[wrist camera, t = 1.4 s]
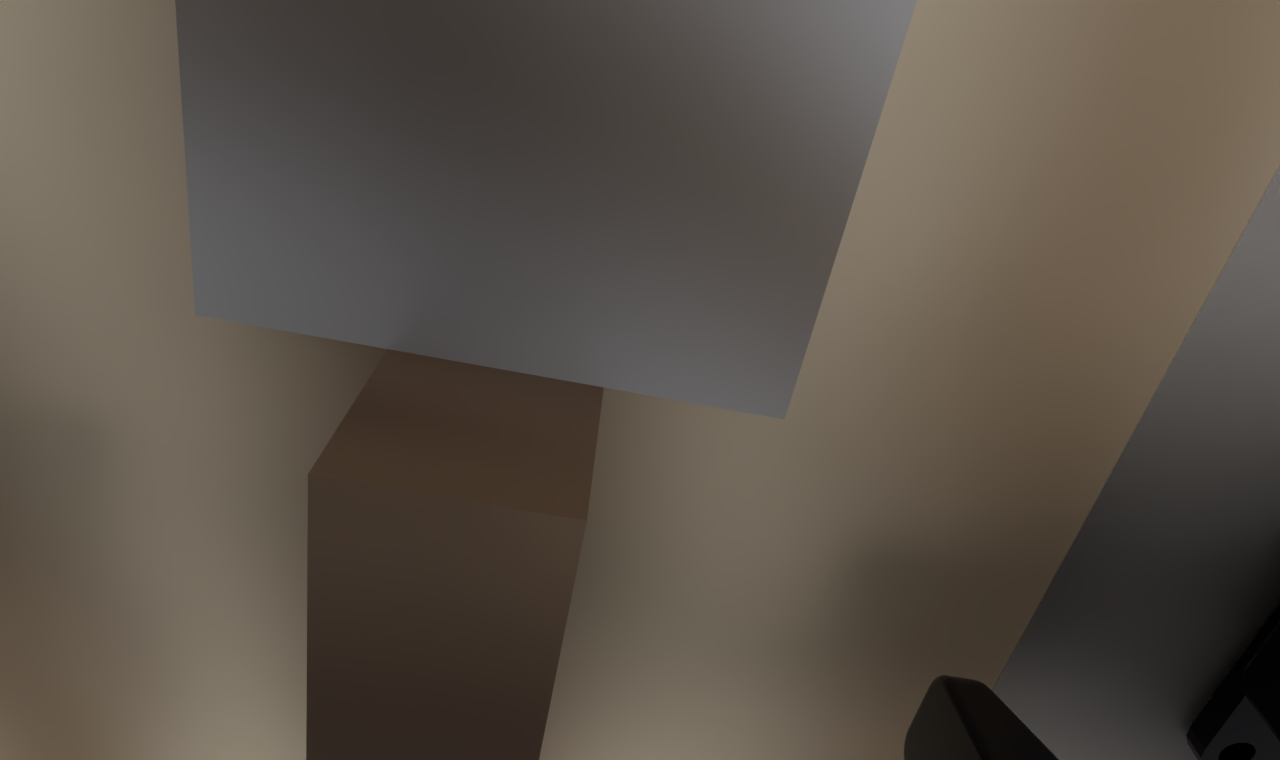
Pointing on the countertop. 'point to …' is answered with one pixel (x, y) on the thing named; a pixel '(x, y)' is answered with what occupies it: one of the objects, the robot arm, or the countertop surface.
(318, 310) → the brown and grey blocks
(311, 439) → the cutting board
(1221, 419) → the countertop surface
